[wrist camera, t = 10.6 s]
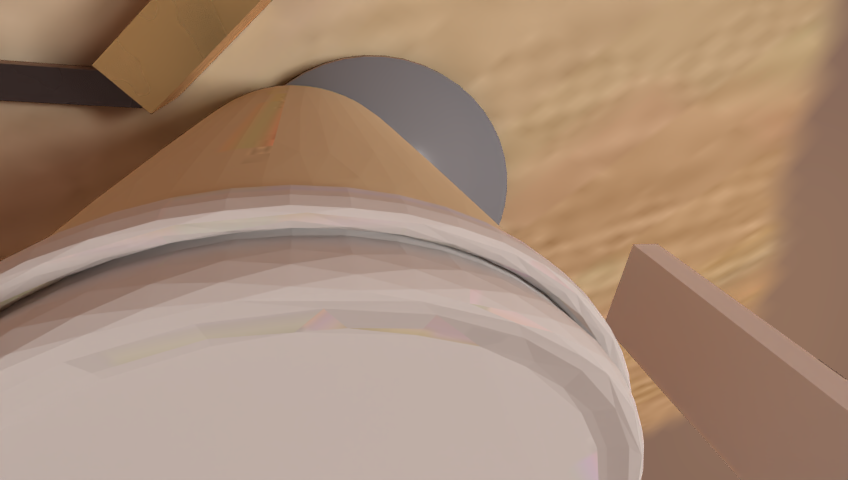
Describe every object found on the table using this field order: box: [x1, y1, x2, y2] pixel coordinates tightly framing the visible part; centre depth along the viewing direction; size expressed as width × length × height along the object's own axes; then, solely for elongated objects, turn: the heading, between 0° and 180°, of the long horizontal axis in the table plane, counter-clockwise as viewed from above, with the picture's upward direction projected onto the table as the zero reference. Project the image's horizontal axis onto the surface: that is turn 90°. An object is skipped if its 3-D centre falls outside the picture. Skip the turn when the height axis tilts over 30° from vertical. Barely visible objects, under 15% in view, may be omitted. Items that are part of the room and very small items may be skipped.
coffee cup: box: [0, 85, 644, 480], centre depth 10 cm, size 9×9×12 cm
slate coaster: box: [284, 55, 507, 225], centre depth 16 cm, size 10×10×1 cm
